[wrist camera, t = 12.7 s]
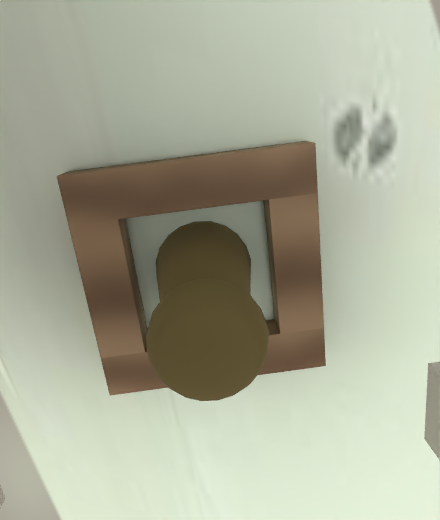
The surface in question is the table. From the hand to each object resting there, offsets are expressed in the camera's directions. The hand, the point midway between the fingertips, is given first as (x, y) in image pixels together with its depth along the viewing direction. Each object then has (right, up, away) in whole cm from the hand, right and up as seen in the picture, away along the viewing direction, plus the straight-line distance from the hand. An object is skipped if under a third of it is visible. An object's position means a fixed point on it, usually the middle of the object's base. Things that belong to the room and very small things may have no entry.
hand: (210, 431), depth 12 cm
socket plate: (-1, +5, +14) cm, 15 cm away
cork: (-1, +5, +15) cm, 15 cm away
